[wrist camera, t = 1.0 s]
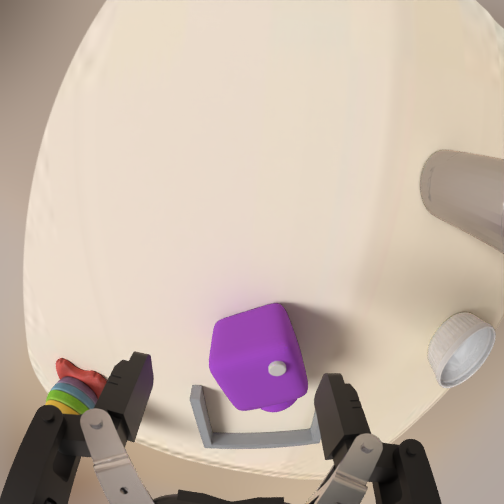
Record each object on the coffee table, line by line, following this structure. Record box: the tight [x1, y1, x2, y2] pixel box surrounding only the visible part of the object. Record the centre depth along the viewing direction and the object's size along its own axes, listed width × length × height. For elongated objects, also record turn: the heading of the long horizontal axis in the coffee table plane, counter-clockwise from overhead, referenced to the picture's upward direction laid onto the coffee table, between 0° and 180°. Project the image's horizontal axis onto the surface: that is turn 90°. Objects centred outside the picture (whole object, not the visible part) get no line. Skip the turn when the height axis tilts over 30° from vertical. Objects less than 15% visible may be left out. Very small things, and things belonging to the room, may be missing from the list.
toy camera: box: [209, 303, 308, 412], centre depth 32 cm, size 11×14×10 cm
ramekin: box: [427, 312, 496, 388], centre depth 35 cm, size 13×13×7 cm
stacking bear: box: [45, 358, 107, 415], centre depth 32 cm, size 11×10×18 cm
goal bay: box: [190, 385, 321, 449], centre depth 41 cm, size 22×16×3 cm
